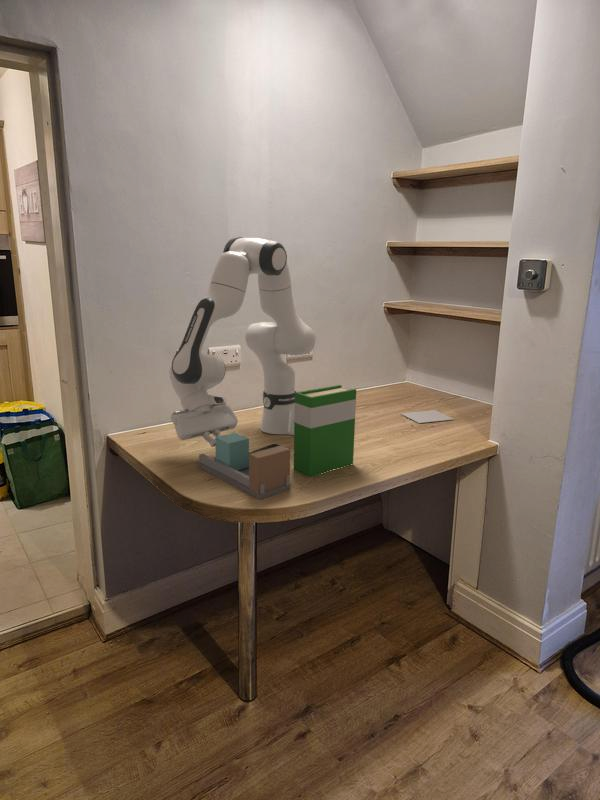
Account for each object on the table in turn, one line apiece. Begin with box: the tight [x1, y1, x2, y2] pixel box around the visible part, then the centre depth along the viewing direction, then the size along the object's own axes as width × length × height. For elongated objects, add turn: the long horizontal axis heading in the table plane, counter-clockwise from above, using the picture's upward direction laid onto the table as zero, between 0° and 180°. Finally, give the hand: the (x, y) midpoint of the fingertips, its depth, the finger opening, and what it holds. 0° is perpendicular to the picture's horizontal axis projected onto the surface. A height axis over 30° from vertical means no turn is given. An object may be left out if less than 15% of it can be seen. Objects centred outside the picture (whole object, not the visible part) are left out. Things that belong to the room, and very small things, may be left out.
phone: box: [249, 443, 291, 454], centre depth 186 cm, size 8×1×15 cm
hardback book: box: [293, 384, 357, 478], centre depth 172 cm, size 18×7×24 cm, turn 129°
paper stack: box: [400, 409, 454, 424], centre depth 225 cm, size 23×25×1 cm
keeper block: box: [214, 432, 250, 471], centre depth 168 cm, size 7×7×9 cm
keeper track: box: [197, 444, 292, 500], centre depth 165 cm, size 11×30×12 cm, turn 42°
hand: (216, 445), depth 174 cm, fingers closed
